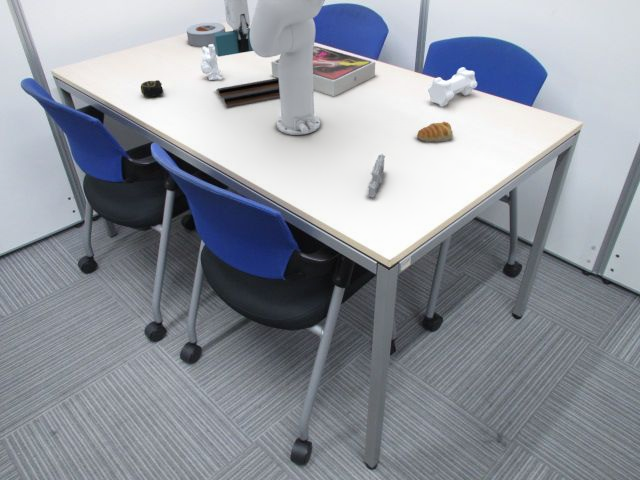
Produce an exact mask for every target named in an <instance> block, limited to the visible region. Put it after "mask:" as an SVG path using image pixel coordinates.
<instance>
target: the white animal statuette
mask: <svg viewBox="0 0 640 480" xmlns="http://www.w3.org/2000/svg"><path fill="white" fill-rule="evenodd" d="M201 52H202V53H203V56H202V57H201V61H200V63H199V64H200V70H201V72H202V73H203V74H207V76H206V77H207V78H208V80H209V81H213V80H215V81H216V80H219V81H220V80H221V81H222V80H223V77H222V76H220V73H221V69H219V64H218V56H217V54H216V51H215V45H213V44H210V45H208V46H207V47H201Z"/></svg>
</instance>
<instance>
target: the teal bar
mask: <svg viewBox="0 0 640 480" xmlns="http://www.w3.org/2000/svg"><path fill="white" fill-rule="evenodd" d="M247 31H248V34H247V35H248V44H249V51H248V52H247V53H250V52H254V51H253V49H252V47H251V43H250V27H249V28H247ZM240 32H242V31H240ZM213 38H214V44H215V45H214V46H215V51H216V57H217V58H218V57H219V58H220V57H225V56H230V55H236V54H240V53H239V51H238V42H237V39H238V34H237V30H234V31H233V30H229V31H225V32H221V33H215V34H213ZM243 53H245V52H242V53H241V54H243Z"/></svg>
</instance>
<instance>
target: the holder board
mask: <svg viewBox="0 0 640 480" xmlns="http://www.w3.org/2000/svg"><path fill="white" fill-rule="evenodd" d="M215 90H216V91H215V92H216V93H217V95H218V96H219V98H220V99H221V101H222V103H223V105H224V106H225V107H226V109H229V108H234V107H239V106H245V105H250V104H256V103H260V102H266V101H271V100H272V101H273V100H277V99H280V91H279V78H277V77H274V78H271V79H270V78H269V79H264V80H259V81H253V82H248V83H241V84H237V85H236V84H235V85H230V86H224V87H218V88H217V89H215Z"/></svg>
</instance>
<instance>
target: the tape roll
mask: <svg viewBox="0 0 640 480" xmlns="http://www.w3.org/2000/svg"><path fill="white" fill-rule="evenodd" d="M221 32H226V27H225V24H223V23H220V22H202V23H201V22H200V23H196V24H193V25H191V26H189V27H187V28H186V36H187V41H188V44H189V45H190V46H193V47H199V48H200V47H201V48H202V47H207V48H208V45H210V44H213V45H214V46H215V44H214V38H213V34H215V33H221Z"/></svg>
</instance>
